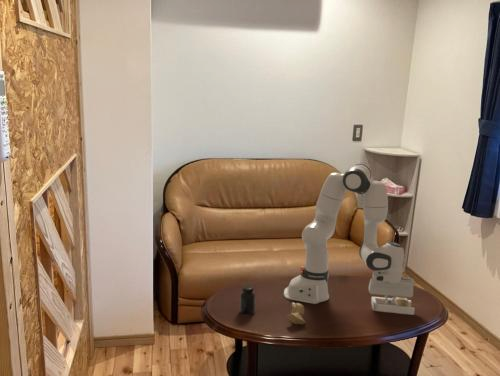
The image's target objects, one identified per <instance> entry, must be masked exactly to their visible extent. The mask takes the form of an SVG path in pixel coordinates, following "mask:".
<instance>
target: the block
mask: <svg viewBox="0 0 500 376" xmlns="http://www.w3.org/2000/svg"><path fill="white" fill-rule="evenodd" d="M408 300H409V299H408V297H400V296H396V301H395V306H405V307H408V303H409V302H408Z"/></svg>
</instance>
